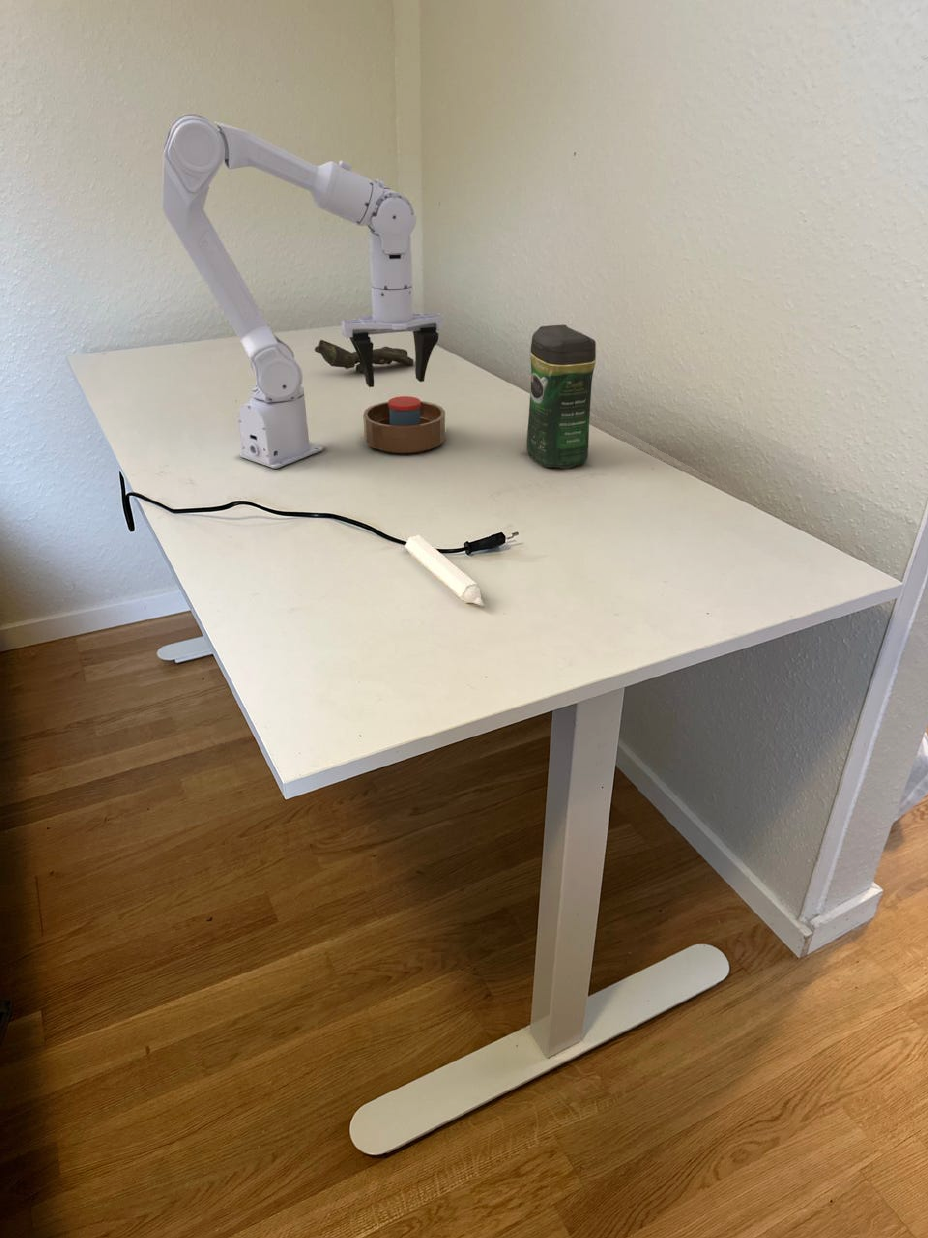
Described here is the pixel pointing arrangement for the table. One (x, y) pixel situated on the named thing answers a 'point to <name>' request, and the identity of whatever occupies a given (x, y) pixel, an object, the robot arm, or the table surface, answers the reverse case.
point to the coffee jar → (560, 396)
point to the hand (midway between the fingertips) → (395, 382)
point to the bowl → (404, 429)
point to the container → (404, 411)
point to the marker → (444, 570)
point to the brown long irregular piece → (348, 360)
